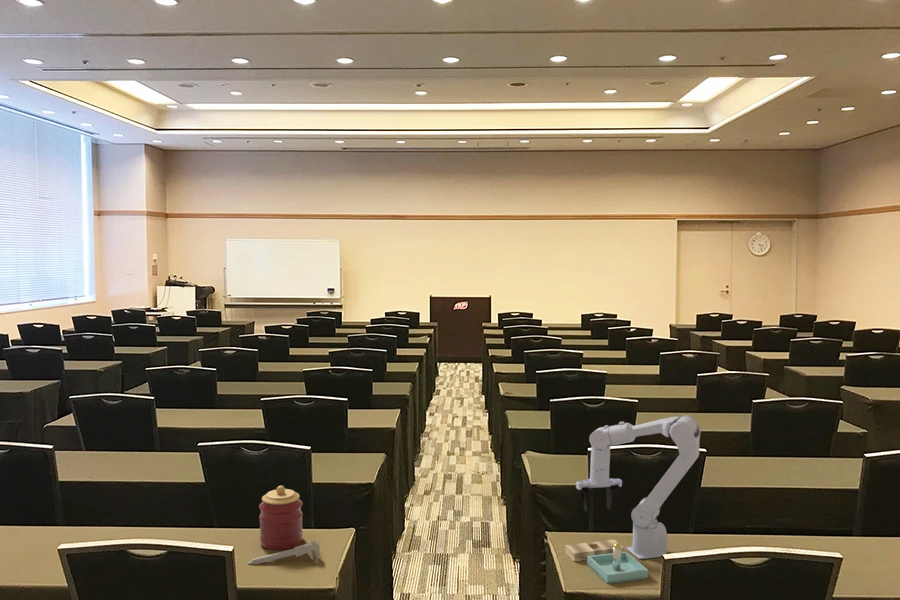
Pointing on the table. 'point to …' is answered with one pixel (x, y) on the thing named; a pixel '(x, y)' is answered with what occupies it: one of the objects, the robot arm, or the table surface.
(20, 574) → the table surface
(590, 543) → the beige slotted block
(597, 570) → the tray
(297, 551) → the caliper
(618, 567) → the pin
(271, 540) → the canister
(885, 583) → the table surface
